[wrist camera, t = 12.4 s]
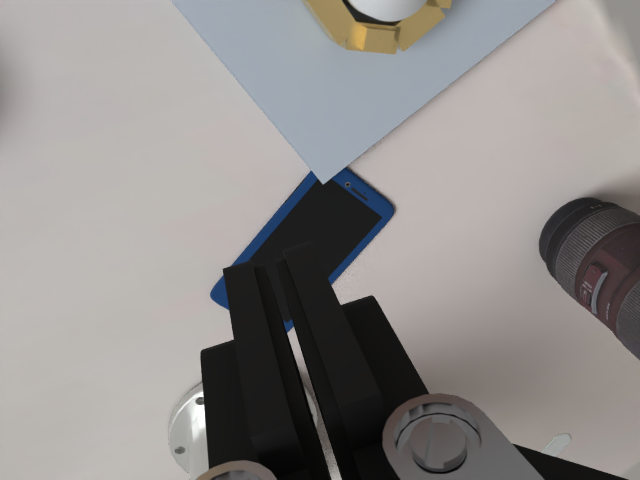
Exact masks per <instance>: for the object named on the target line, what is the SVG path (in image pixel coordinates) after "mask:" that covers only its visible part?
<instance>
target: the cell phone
mask: <svg viewBox="0 0 640 480" xmlns="http://www.w3.org/2000/svg"><path fill="white" fill-rule="evenodd" d="M393 214H394V208H393V206H392V204H391V203H390V202H389V201H388V200H387V199H386V198H384V197H383V196H382V195H381V194H379V193H378V192H377V191H376V190H374V189H373V188H372V187H370V186H369V185H368V184H367V183H365V182H364V181H363V180H362V179H360V178H359V177H358V176H356V175H355V174H354V173H353V172H351V171H350V170H349V169H348V168H346V167H345V168H343V169H342V170H341V171H340V172H338V173H337V174H336V175H335V176H333V177H332V178H331V179H330V180H328V181H327V182H326V183H324V184H322V183H321V181H320V180H319V179H318V178H317V177H316V175H315V174H314V173H313V172H312V171H310V173H309V174H308V175H307V176H306V177H305V178H304V180H303V181H302V182H301V183H300V184H299V186H298V187H297V188H296V189H295V190H294V192H293V193H292V194H291V195H290V196H289V198H288V199H287V200H286V201H285V202H284V203H283V205H282V206H281V207H280V208H279V209H278V211H277V212H276V213H275V214H274V215H273V217H272V218H271V219H270V220H269V221H268V223H267V224H266V225H265V226H264V227H263V229H262V230H261V231H260V232H259V233H258V234H257V236H256V237H255V238H254V239H253V240H252V242H251V243H250V244H249V245H248V246H247V248H246V249H245V250H244V251H243V252H242V254H241V255H240V256H239V257H238V258H237V260H236V261H235V262H234V263H233V264H232V265H231V266H233V265H237V264H240V263H243V262H246V261H250V260H252V262H253V265H254V267H257V266H260V265H263V264H265V265H266V269H267V272H268V275H269V278H270V281H271V284H272V287H273V291H274V294H275V297H276V300H277V303H278V306H279V310H280V313H281V316H282V319H283V322H284V325H285V328H286V332H288V331H289V330H290V329H291V328H292V327H293V326H294V325H293V321H292V318H291V315H290V312H289V308H288V305H287V302H286V299H285V295H284V292H283V289H282V285H281V282H280V279H279V276H278V272H277V269H276V266H275V263H274V261H276V260H279V259H282V258H285V257H284V253H283V250H285V249H288V248H292V247H295V246H298V245H301V244H305V243H308V242H311V243H312V245H313V247H314V249H315V251H316V253H317V255H318V258H319V260H320V262H321V264H322V266H323V268H324V271H325V273H326V275H327V277H328V279H329V281H330V284H332V283H333V282H334V281H335V280H336V279H337V278H338V277H339V276H340V274H341V273H342V272H343V271H344V270H345V269H346V268H347V267H348V266H349V265H350V263H351V262H352V261H353V260H354V259H355V258H356V257H357V256H358V255H359V254H360V252H361V251H362V250H363V249H364V248H365V247H366V246H367V245H368V244H369V242H370V241H371V240H372V239H373V238H374V237H375V236H376V235H377V234H378V233H379V231H380V230H381V229H382V228H383V227H384V226H385V225H386V223H387V222H388V221H389V220H390V219H391V217H392V216H393ZM210 297H211V298H212V300H214V301H215V302H216V303H218V304H219V305H221V306H223V307H224V308H226V309H228V310H229V305H228V299H227V293H226V286H225V280H224V275H223V276H222V277H221V279H220V280H219V281H218V282H217V283H216V285H215V286H214V288H213V289H212V291H211V293H210Z"/></svg>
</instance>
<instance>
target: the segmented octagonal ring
mask: <svg viewBox="0 0 640 480" xmlns="http://www.w3.org/2000/svg"><path fill="white" fill-rule="evenodd" d="M301 1H302V2H303V4H304V5H305V6H306V8H307V9H308V10H309V12H310V13H311V15H312V16H313V17H314V19H315V20H316V21H317V23H318V24H319V26H320V27H321V28H322V30H323V31H324V32H325V34H326V35H327V37H328V38H329V39H330V40H331V41H333V42H334V43H336V44H337V45H340V46H341V47H343V48H344V49H346V50H353V51H364V52H374V53H384V54H395V55H396V51H397V49H399V50H401V51H403V52H404V51H405V50H407V49H408V48H409V47H410V46H411V45H412V44H414V43H415V42H416V41H417V40H418V39H420V38H421V37H422V36H423V35H424V34H426V33H427V32H428V31H429V30H430V29H431V28H433V27H434V26H435V25H436V24H437V23H439V22H440V21H441V20H442V19H443V18H444V17H445V15H444V14H443V12H442V10H441V8H448V9H450V7H451V2H452V0H427V1H426V3H425V4H424V5H423V6H422V7H421V8H420V9H419V10H418V11H417V12H416V13H414V14H413V15H411V16H409V17H407V18H405V19H402V20H399V21H391V22H390V21H376V20H368V19H359V18H353V17H352V15H351V14H350V12H349V11H348V9H347V8H346V6H345V5H344V3H343V2H342V0H301Z"/></svg>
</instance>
